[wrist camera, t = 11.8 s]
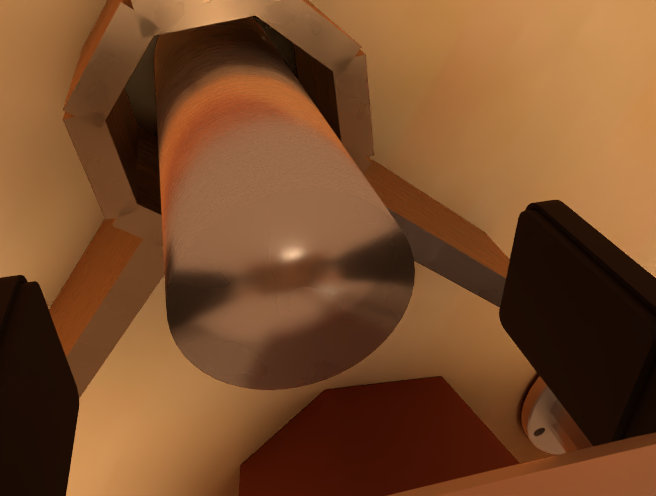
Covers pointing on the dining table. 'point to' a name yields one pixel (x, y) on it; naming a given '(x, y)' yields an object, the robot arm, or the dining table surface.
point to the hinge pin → (266, 219)
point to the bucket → (375, 443)
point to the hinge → (144, 176)
